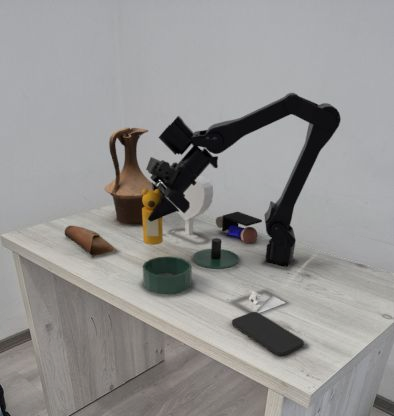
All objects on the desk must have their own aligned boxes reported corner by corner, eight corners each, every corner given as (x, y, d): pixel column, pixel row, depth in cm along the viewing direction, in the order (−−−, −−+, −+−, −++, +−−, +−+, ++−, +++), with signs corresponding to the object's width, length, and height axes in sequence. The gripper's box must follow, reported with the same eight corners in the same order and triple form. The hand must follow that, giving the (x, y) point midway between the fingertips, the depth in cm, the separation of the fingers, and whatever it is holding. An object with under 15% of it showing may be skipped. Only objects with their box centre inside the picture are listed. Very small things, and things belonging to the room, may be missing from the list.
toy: (144, 237, 123) (141, 186, 115) (162, 237, 123) (161, 186, 115) (143, 245, 118) (140, 192, 111) (162, 245, 118) (161, 192, 111)
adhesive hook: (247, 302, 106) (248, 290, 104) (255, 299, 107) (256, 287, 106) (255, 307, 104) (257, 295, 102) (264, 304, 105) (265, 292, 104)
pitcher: (135, 233, 142) (130, 134, 126) (95, 222, 149) (85, 127, 133) (169, 218, 154) (168, 126, 138) (130, 208, 161) (124, 120, 145)
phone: (280, 354, 88) (229, 320, 97) (279, 357, 88) (229, 323, 98) (306, 342, 91) (255, 310, 101) (305, 345, 92) (254, 313, 101)
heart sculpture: (212, 241, 137) (215, 179, 127) (201, 245, 134) (202, 182, 124) (177, 227, 146) (177, 168, 136) (165, 231, 143) (164, 171, 133)
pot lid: (246, 258, 127) (248, 237, 124) (225, 275, 118) (226, 252, 115) (207, 249, 132) (207, 228, 129) (183, 263, 123) (183, 242, 120)
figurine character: (214, 237, 144) (245, 247, 133) (213, 213, 140) (246, 221, 129) (230, 233, 147) (262, 242, 136) (230, 209, 143) (263, 217, 133)
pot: (199, 281, 115) (200, 263, 112) (174, 300, 106) (174, 280, 104) (161, 270, 119) (161, 253, 117) (134, 287, 111) (133, 268, 108)
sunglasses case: (118, 249, 129) (105, 232, 124) (100, 266, 128) (86, 249, 123) (90, 231, 141) (77, 214, 136) (73, 246, 140) (60, 230, 135)
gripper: (157, 138, 116) (116, 185, 119) (176, 153, 101) (129, 207, 105) (186, 169, 122) (147, 213, 126) (208, 187, 108) (164, 237, 111)
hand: (146, 216), depth 117 cm, fingers closed on toy, 5 cm apart
